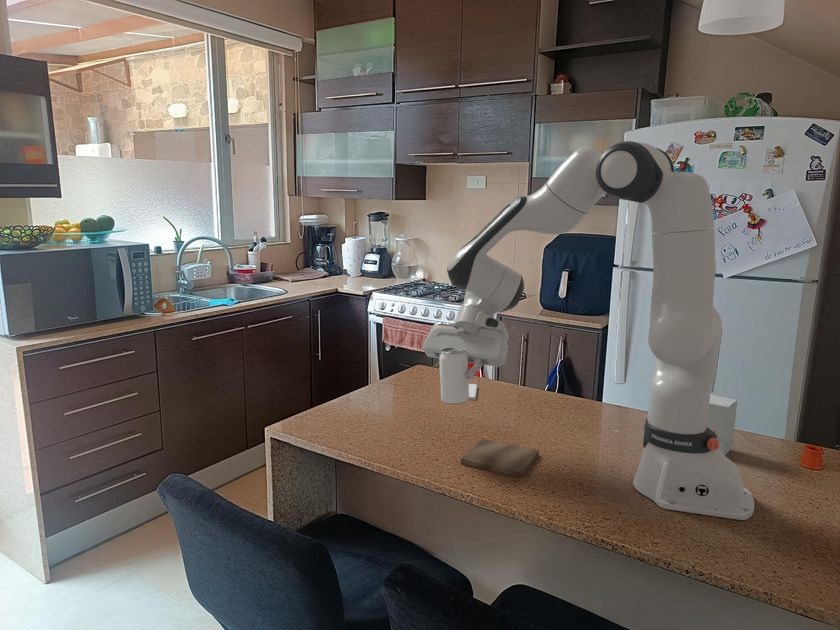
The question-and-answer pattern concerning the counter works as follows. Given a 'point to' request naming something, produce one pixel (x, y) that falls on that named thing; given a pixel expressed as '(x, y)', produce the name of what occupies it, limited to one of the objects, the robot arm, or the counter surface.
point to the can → (454, 376)
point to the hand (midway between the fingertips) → (455, 375)
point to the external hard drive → (472, 391)
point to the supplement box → (722, 421)
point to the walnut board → (500, 457)
